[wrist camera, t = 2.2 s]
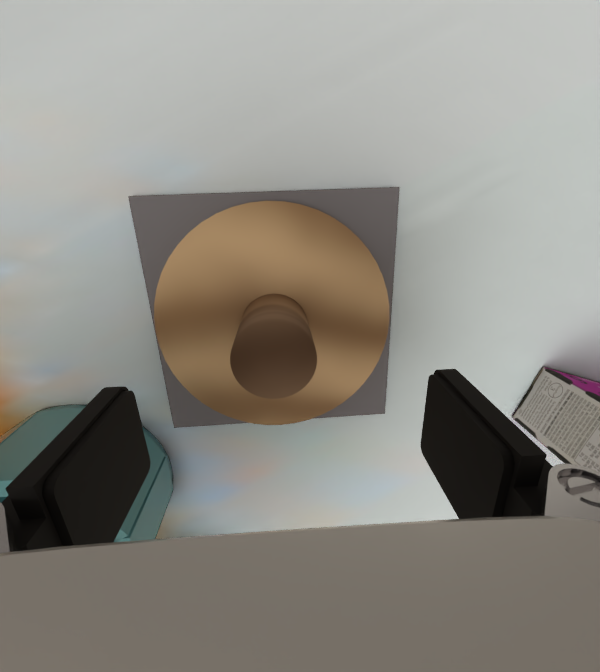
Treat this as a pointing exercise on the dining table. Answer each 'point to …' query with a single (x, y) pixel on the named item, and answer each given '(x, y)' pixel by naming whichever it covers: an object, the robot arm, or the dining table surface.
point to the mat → (191, 209)
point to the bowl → (42, 427)
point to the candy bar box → (564, 416)
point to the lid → (271, 312)
